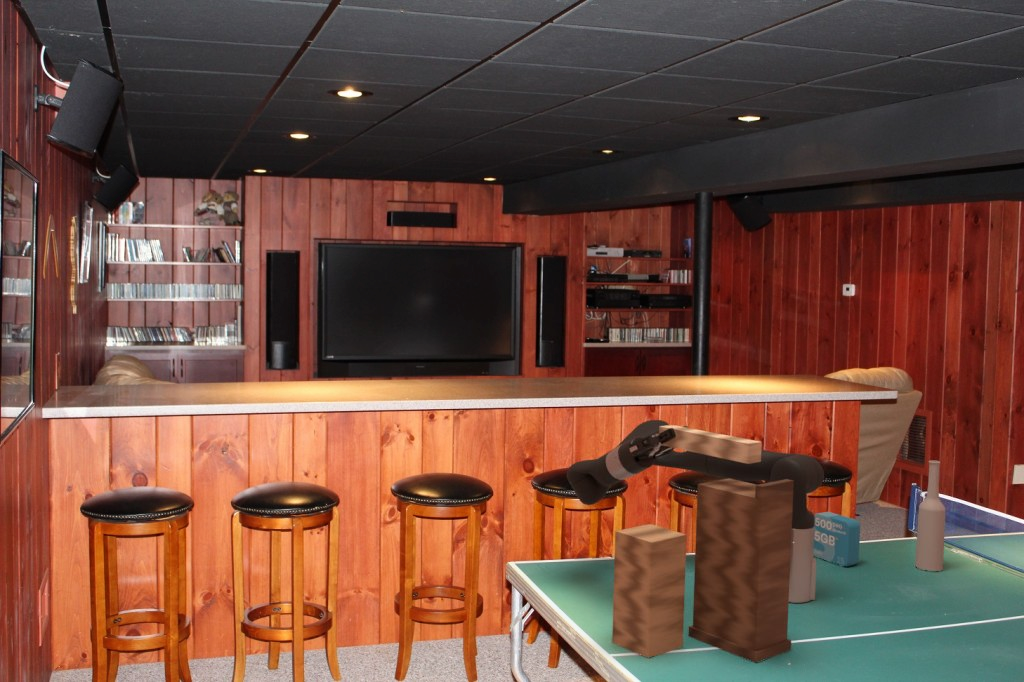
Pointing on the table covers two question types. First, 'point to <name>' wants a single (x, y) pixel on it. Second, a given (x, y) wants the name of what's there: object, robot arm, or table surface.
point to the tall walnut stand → (743, 567)
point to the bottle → (931, 525)
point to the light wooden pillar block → (649, 589)
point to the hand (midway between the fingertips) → (680, 431)
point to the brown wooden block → (714, 444)
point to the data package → (836, 538)
